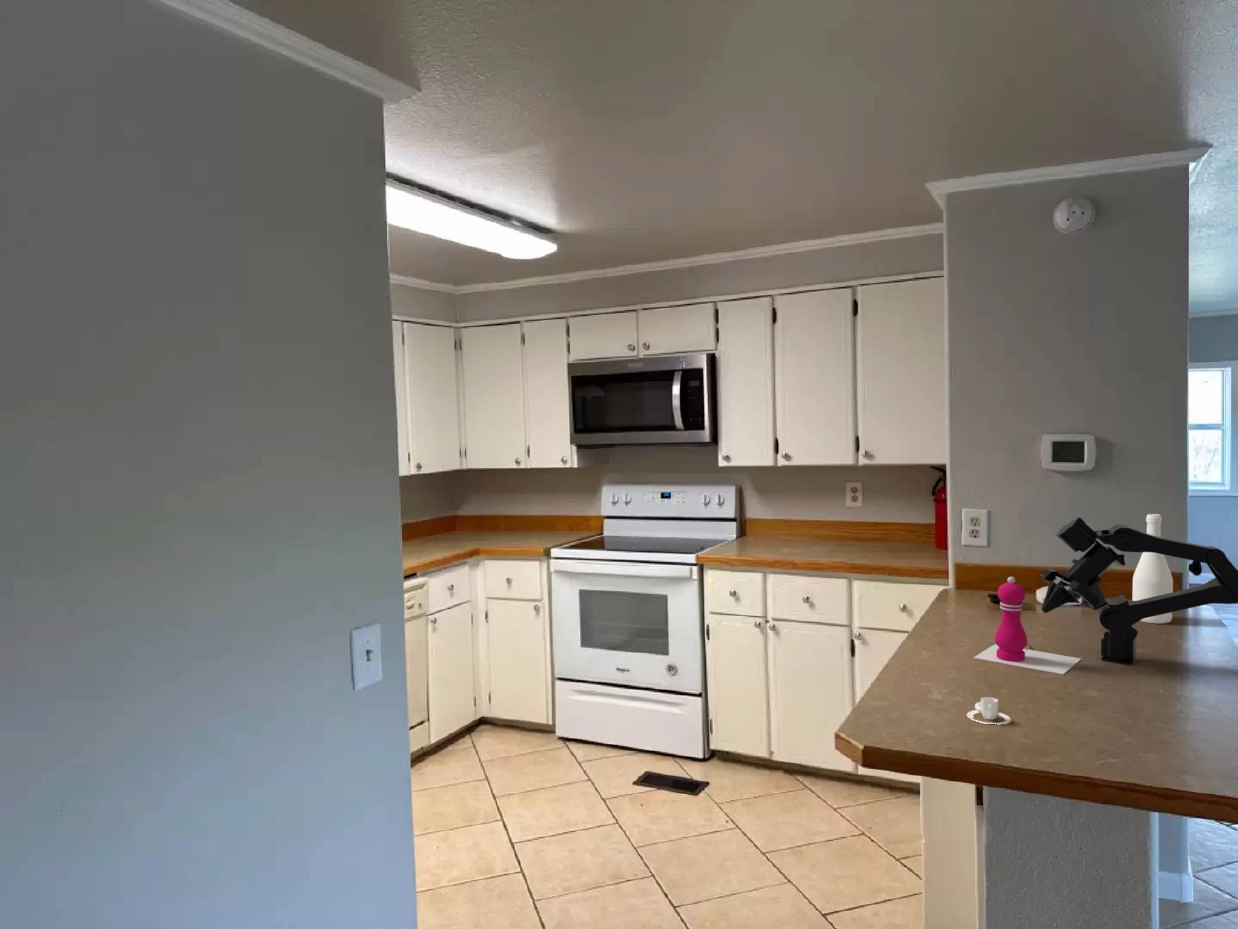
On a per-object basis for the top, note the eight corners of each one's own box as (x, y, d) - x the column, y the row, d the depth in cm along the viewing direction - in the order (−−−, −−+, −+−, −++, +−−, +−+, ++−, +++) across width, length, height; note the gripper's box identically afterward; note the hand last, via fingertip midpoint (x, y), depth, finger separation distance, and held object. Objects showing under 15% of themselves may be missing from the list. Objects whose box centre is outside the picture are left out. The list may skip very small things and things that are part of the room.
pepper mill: (1023, 664, 197) (1024, 581, 196) (991, 659, 202) (991, 577, 200) (1030, 656, 203) (1030, 575, 202) (998, 652, 207) (999, 572, 206)
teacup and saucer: (975, 708, 171) (975, 689, 171) (1016, 717, 166) (1017, 697, 166) (961, 721, 165) (961, 701, 164) (1004, 730, 160) (1004, 709, 159)
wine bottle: (1124, 618, 238) (1126, 514, 236) (1145, 614, 242) (1147, 511, 240) (1158, 626, 229) (1160, 517, 227) (1179, 621, 233) (1182, 515, 231)
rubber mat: (1081, 659, 201) (1081, 658, 201) (1063, 674, 190) (1063, 673, 190) (995, 644, 215) (995, 644, 214) (973, 658, 204) (973, 657, 204)
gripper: (1137, 597, 191) (1086, 645, 192) (1094, 581, 209) (1049, 624, 211) (1102, 564, 191) (1052, 612, 192) (1063, 550, 209) (1017, 594, 211)
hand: (1043, 611), depth 201 cm, fingers closed
